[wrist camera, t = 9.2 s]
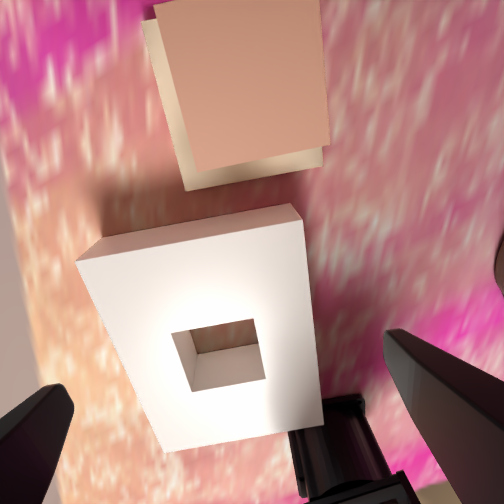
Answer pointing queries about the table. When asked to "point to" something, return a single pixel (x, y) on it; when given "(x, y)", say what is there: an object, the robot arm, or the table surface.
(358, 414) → the robot arm
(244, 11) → the plug
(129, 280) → the socket block
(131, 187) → the table surface
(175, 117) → the pad
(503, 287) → the plant pot
